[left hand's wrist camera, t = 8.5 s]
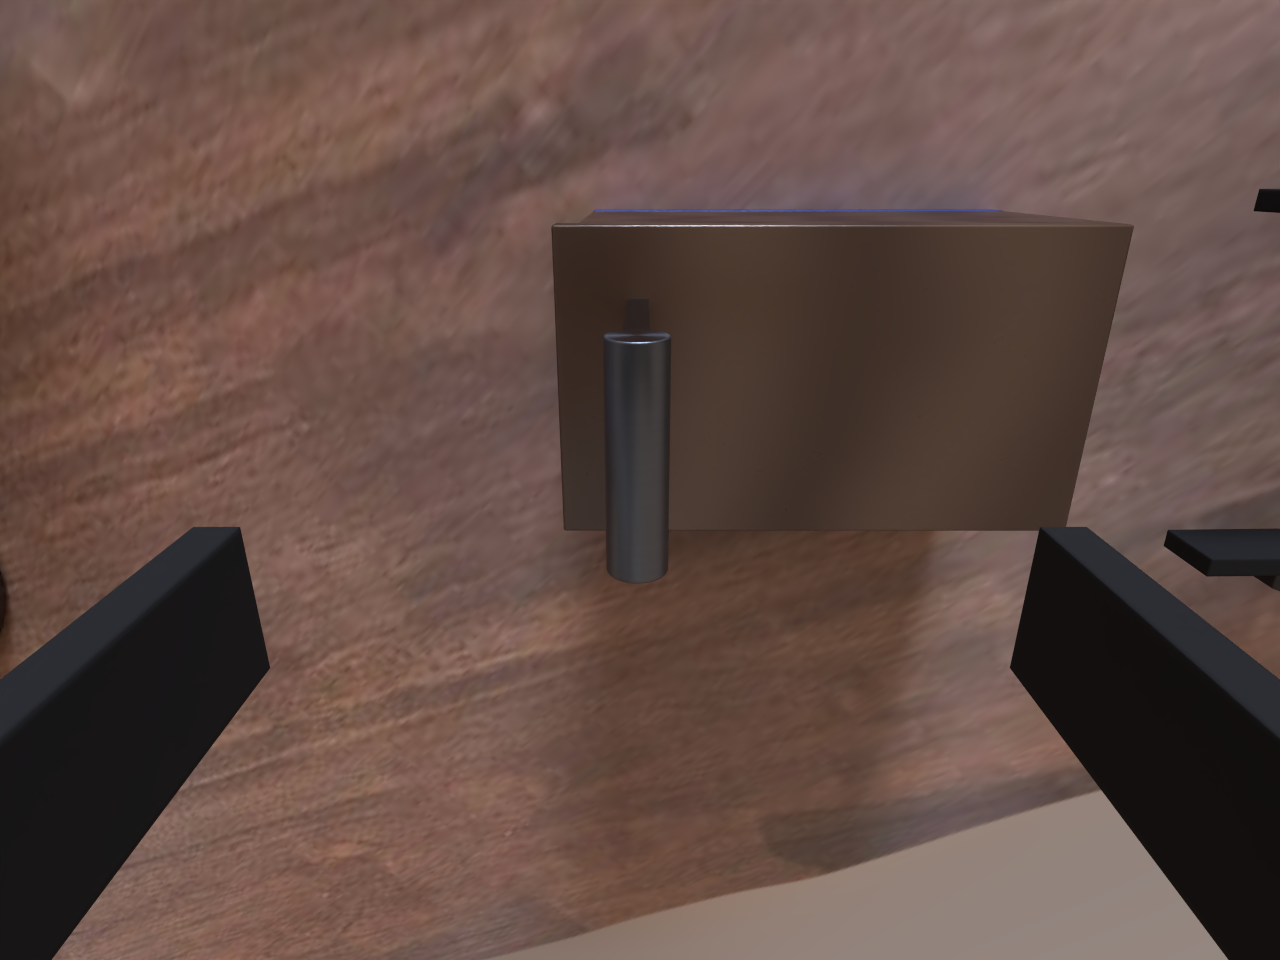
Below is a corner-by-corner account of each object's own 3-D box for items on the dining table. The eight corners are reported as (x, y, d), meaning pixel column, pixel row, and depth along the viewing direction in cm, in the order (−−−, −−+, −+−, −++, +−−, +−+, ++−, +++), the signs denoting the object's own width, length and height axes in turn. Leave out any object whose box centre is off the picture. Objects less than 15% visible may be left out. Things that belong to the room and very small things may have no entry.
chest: (599, 438, 37) (587, 520, 28) (594, 209, 33) (578, 222, 24) (955, 438, 37) (1052, 520, 28) (992, 209, 33) (1118, 222, 24)
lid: (565, 520, 28) (537, 652, 20) (554, 223, 24) (513, 246, 16) (1053, 520, 28) (1210, 653, 20) (1118, 222, 24) (1343, 246, 16)
